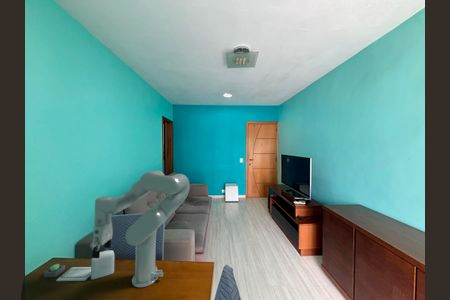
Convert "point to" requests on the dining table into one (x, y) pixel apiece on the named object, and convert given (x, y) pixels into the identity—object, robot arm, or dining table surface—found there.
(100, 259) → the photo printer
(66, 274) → the paper board
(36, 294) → the dining table surface
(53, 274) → the button housing
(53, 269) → the button
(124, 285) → the dining table surface
